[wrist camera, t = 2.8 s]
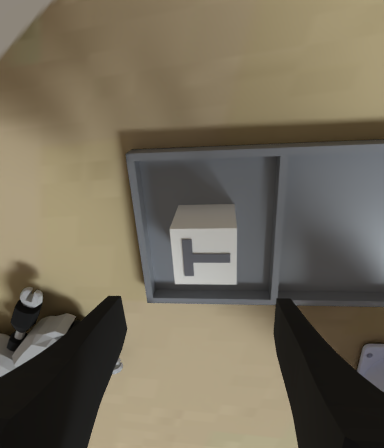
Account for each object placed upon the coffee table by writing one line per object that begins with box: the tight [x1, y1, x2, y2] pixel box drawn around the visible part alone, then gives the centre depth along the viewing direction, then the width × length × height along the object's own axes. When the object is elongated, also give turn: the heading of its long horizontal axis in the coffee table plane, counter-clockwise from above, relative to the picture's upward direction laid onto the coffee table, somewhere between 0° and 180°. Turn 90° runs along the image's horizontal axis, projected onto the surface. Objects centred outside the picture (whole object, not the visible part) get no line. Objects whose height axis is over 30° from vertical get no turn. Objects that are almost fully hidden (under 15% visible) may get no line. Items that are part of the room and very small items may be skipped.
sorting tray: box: [126, 139, 384, 307], centre depth 21 cm, size 12×20×2 cm, turn 93°
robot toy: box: [0, 287, 123, 377], centre depth 28 cm, size 12×4×15 cm
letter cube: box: [170, 204, 237, 285], centre depth 20 cm, size 4×4×4 cm
